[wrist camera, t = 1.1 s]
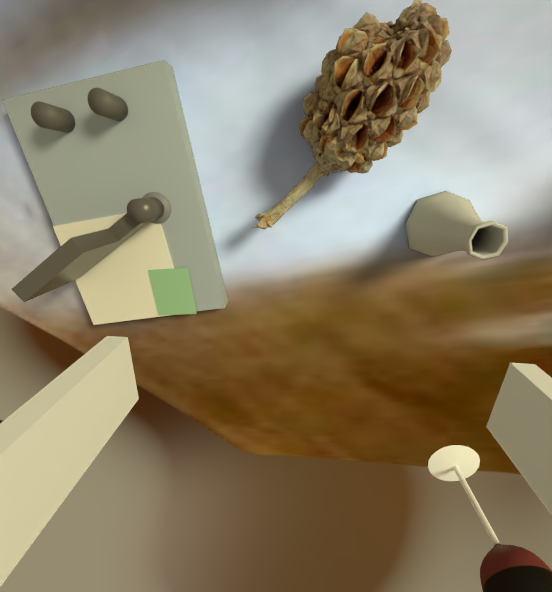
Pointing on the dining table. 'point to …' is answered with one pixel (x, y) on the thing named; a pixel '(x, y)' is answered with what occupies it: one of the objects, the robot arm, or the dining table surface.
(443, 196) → the flask
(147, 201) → the gate
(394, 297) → the dining table surface
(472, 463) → the wineglass
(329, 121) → the pine cone
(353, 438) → the dining table surface
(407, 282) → the dining table surface
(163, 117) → the board
